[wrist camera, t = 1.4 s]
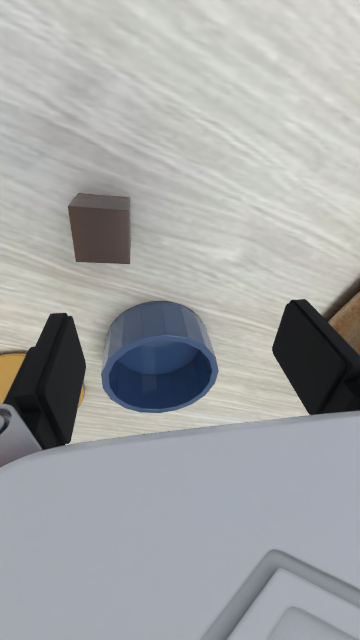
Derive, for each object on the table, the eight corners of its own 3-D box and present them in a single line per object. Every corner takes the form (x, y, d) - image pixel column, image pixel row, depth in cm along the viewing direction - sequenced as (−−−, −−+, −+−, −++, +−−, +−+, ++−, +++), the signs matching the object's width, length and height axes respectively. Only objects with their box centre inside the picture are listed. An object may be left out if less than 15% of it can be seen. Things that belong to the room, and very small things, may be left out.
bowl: (94, 365, 36) (88, 404, 31) (127, 286, 30) (125, 320, 24) (179, 382, 41) (186, 419, 36) (224, 318, 35) (240, 352, 29)
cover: (-31, 408, 38) (-54, 449, 34) (-28, 338, 31) (-57, 377, 26) (72, 421, 44) (65, 458, 39) (96, 363, 36) (90, 400, 32)
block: (84, 242, 26) (75, 262, 22) (78, 193, 23) (67, 206, 20) (130, 245, 27) (129, 264, 23) (130, 197, 24) (129, 210, 20)
